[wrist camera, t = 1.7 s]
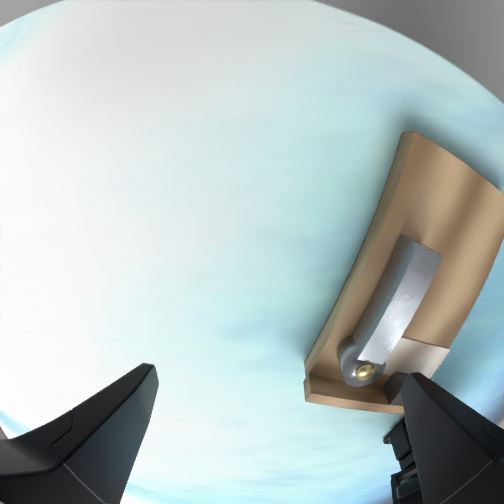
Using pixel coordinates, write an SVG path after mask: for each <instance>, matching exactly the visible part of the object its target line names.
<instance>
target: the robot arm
mask: <svg viewBox="0 0 504 504" xmlns="http://www.w3.org/2000/svg"><path fill="white" fill-rule="evenodd" d="M158 385H159V382H158V377H157V372H156V368H155V366H154V365H153V364H148V363H142V364H141V365H139V366H138V367H136V368H135V369H133V370H132V371H130V372H129V373H127V374H126V375H124V376H122V377H121V378H119V379H118V380H116V381H115V382H113V383H112V384H110V385H109V386H107V387H106V388H104V389H103V390H101V391H99V392H98V393H96V394H95V395H93V396H92V397H90V398H89V399H87V400H85V401H84V402H82V403H81V404H79V405H78V406H76V407H74V408H73V409H72V410H69V411H68V412H66V413H65V414H63V415H61V416H60V417H58V418H56V419H54V420H53V421H51V422H49V423H47V424H45V425H43V426H41V427H38V428H36V429H34V430H32V431H30V432H27V433H25V434H23V435H20V436H18V437H15V438H12V439H0V504H120V501H121V498H122V495H123V493H124V490H125V487H126V484H127V481H128V478H129V476H130V473H131V470H132V467H133V465H134V462H135V459H136V457H137V454H138V451H139V448H140V446H141V443H142V440H143V438H144V435H145V433H146V430H147V427H148V424H149V422H150V418H151V414H152V410H153V406H154V402H155V398H156V394H157V390H158ZM401 398H402V404H403V409H404V415H405V418H404V419H403V420H402V421H401V422H400V424H399V425H398V426H397V427H396V428H395V429H394V430H393V431H392V432H391V433H390V434H389V435H388V436H387V437H386V438H385V439H384V440H383V443H384V444H392V447H393V450H394V453H395V456H396V460H398V461H399V464H400V467H401V471H400V472H398V473H394V474H392V475H391V488H392V504H504V429H502V428H500V427H499V426H497V425H495V424H494V423H492V422H491V421H489V420H488V419H486V418H485V417H484V416H482V415H481V414H479V413H478V412H476V411H475V410H473V409H472V408H471V407H469V406H468V405H466V404H465V403H463V402H462V401H460V400H459V399H458V398H456V397H455V396H453V395H452V394H450V393H449V392H447V391H446V390H445V389H443V388H442V387H440V386H439V385H437V384H436V383H435V382H433V381H432V380H430V379H429V378H427V377H426V376H424V375H423V374H422V373H420V372H412V373H409V374H408V376H407V378H406V380H405V382H404V384H403V386H402V388H401Z"/></svg>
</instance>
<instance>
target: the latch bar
mask: <svg viewBox="0 0 504 504" xmlns="http://www.w3.org/2000/svg"><path fill="white" fill-rule="evenodd" d="M442 257H443V256H442V255H441V254H439V253H437V252H436V251H434V250H433V249H431V248H430V247H428V246H426V245H425V244H423V243H421V242H418V241H416V240H414V239H412V238H410V237H408V236H405V235H403V234H401V235H400V238H399V240H398V242H397V245H396V247H395V249H394V252H393V254H392V256H391V259H390V261H389V263H388V265H387V267H386V269H385V272H384V274H383V276H382V278H381V280H380V282H379V284H378V286H377V288H376V290H375V292H374V294H373V296H372V298H371V300H370V302H369V304H368V306H367V308H366V310H365V312H364V313H363V315H362V317H361V319H360V321H359V323H358V324H357V326H356V328H355V330H354V332H353V333H352V335H350V336H348V337H347V338H345V339H344V340H343V341H342V342H341V343H340V345H339V346H338V348H337V358H338V362H339V366H340V369H341V373H342V377H343V380H344V381H345V383H347V384H348V385H350V386H355V387H360V386H365V385H368V384H371V383H373V382H374V381H376V380H377V379H378V378H379V377H380V376H381V375H382V374H383V372H384V370H385V367H386V362H385V361H386V359H387V358H388V356H389V355H390V353H391V352H392V350H393V348H394V347H395V345H396V344H397V342H398V341H399V339H400V337H401V336H402V334H403V332H404V331H405V329H406V327H407V326H408V324H409V322H410V321H411V319H412V317H413V315H414V314H415V312H416V310H417V308H418V306H419V304H420V303H421V301H422V299H423V297H424V295H425V293H426V291H427V289H428V287H429V285H430V283H431V281H432V279H433V277H434V275H435V273H436V271H437V268H438V266H439V264H440V262H441V260H442Z"/></svg>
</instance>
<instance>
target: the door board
mask: <svg viewBox="0 0 504 504" xmlns="http://www.w3.org/2000/svg"><path fill="white" fill-rule="evenodd" d="M401 234H403V235H405V236H408V237H410V238H412V239H414V240H416V241H418V242H421V243H423V244H425V245H426V246H428V247H430V248H431V249H433V250H434V251H436V252H437V253H439V254H441V255H442V256H443V257H442V260H441V262H440V264H439V266H438V268H437V271H436V273H435V275H434V277H433V279H432V281H431V283H430V285H429V287H428V289H427V291H426V293H425V295H424V297H423V299H422V301H421V303H420V304H419V306H418V308H417V310H416V312H415V314H414V315H413V317H412V319H411V321H410V322H409V324H408V326H407V327H406V329H405V331H404V332H403V334H402V336H401V337H400V339H399V341H398V342H397V344H396V345H395V347H394V348H393V350H392V352H391V353H390V355H389V356H388V358H387V359H386V361H385V362H386V367H385V370H384V372H383V374H382V375H381V376H380V377H379V378H378V379H377V380H376V381H374V382H373V383H371V384H368V385H365V386H360V387H355V386H350V385H348V384H347V383H345V381H344V380H343V377H342V373H341V369H340V366H339V362H338V358H337V348H338V346H339V345H340V343H341V342H342V341H343V340H344V339H345V338H347V337H348V336H350V335H352V333H353V332H354V330H355V328H356V326H357V324H358V323H359V321H360V319H361V317H362V315H363V313H364V312H365V310H366V308H367V306H368V304H369V302H370V300H371V298H372V296H373V294H374V292H375V290H376V288H377V286H378V284H379V282H380V280H381V278H382V276H383V274H384V272H385V269H386V267H387V265H388V263H389V261H390V259H391V256H392V254H393V252H394V249H395V247H396V245H397V242H398V240H399V238H400V235H401ZM503 237H504V194H503V193H502V192H501V191H500V190H498V189H497V188H496V187H495V186H494V185H492V184H491V183H490V182H489V181H487V180H486V179H485V178H484V177H482V176H481V175H480V174H479V173H477V172H476V171H475V170H473V169H472V168H471V167H469V166H468V165H467V164H465V163H464V162H462V161H461V160H460V159H458V158H457V157H455V156H454V155H452V154H451V153H449V152H448V151H446V150H445V149H443V148H442V147H440V146H439V145H437V144H436V143H434V142H432V141H431V140H429V139H428V138H426V137H424V136H423V135H421V134H419V133H417V132H416V131H411V132H406V133H402V136H401V139H400V142H399V146H398V149H397V152H396V155H395V158H394V161H393V164H392V167H391V170H390V173H389V176H388V179H387V182H386V185H385V188H384V191H383V193H382V196H381V199H380V201H379V204H378V207H377V209H376V212H375V215H374V217H373V220H372V222H371V225H370V227H369V230H368V232H367V235H366V237H365V239H364V242H363V244H362V247H361V249H360V251H359V254H358V256H357V258H356V260H355V263H354V265H353V267H352V269H351V272H350V274H349V276H348V278H347V280H346V282H345V285H344V287H343V289H342V291H341V293H340V295H339V297H338V299H337V301H336V303H335V305H334V307H333V309H332V311H331V313H330V315H329V317H328V319H327V321H326V323H325V325H324V327H323V329H322V331H321V333H320V335H319V336H318V338H317V340H316V342H315V344H314V346H313V348H312V349H311V351H310V353H309V355H308V357H307V358H306V360H305V362H304V365H305V374H306V378H305V380H304V392H305V401H306V402H311V403H316V404H322V405H328V406H334V407H341V408H348V409H356V410H364V411H373V412H384V413H396V414H404V409H403V404H402V398H401V388H402V386H403V384H404V382H405V380H406V378H407V376H408V374H409V373H412V372H420V373H422V374H423V375H424V376H426V377H427V378H429V379H430V378H431V377H432V375H433V374H434V373H435V371H436V370H437V369H438V367H439V366H440V364H441V363H442V362H443V360H444V359H445V357H446V356H447V354H448V353H449V351H450V350H451V349H449V346H450V345H451V343H452V342H453V340H454V338H455V337H456V335H457V334H458V332H459V330H460V329H461V327H462V325H463V323H464V322H465V320H466V318H467V316H468V315H469V313H470V311H471V309H472V307H473V305H474V304H475V302H476V300H477V298H478V296H479V294H480V292H481V290H482V288H483V286H484V283H485V281H486V279H487V277H488V275H489V272H490V270H491V268H492V266H493V263H494V261H495V258H496V256H497V253H498V251H499V248H500V246H501V243H502V240H503Z"/></svg>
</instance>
